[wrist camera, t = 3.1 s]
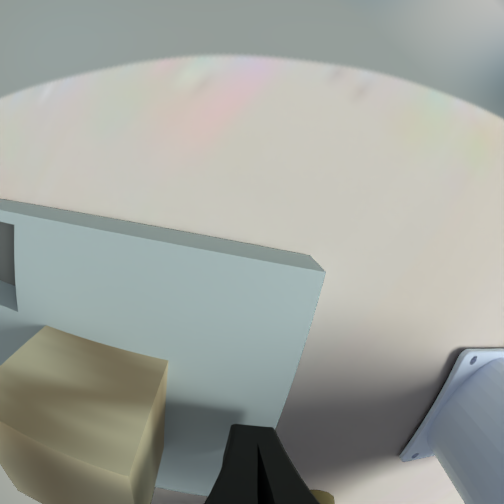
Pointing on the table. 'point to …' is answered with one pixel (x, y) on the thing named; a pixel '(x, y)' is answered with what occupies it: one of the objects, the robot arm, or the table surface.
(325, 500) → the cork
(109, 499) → the beech block
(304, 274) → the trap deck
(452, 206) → the table surface
